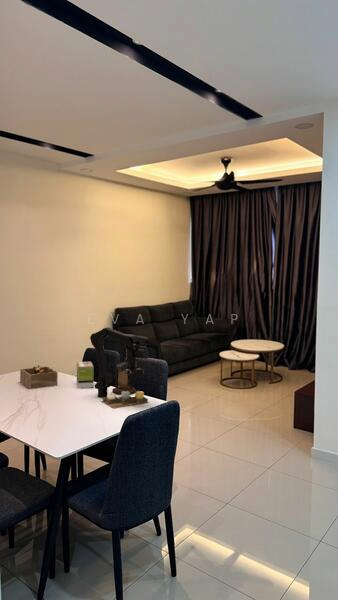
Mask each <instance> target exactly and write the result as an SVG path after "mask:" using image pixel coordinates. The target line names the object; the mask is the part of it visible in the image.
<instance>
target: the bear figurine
mask: <svg viewBox="0 0 338 600" xmlns="http://www.w3.org/2000/svg"><path fill="white" fill-rule="evenodd" d="M39 367H40V365H39V364H38V365H37V366H33V367H32V368H34V372H35V373H34V374H41V373H44V370H40V368H39Z"/></svg>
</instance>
